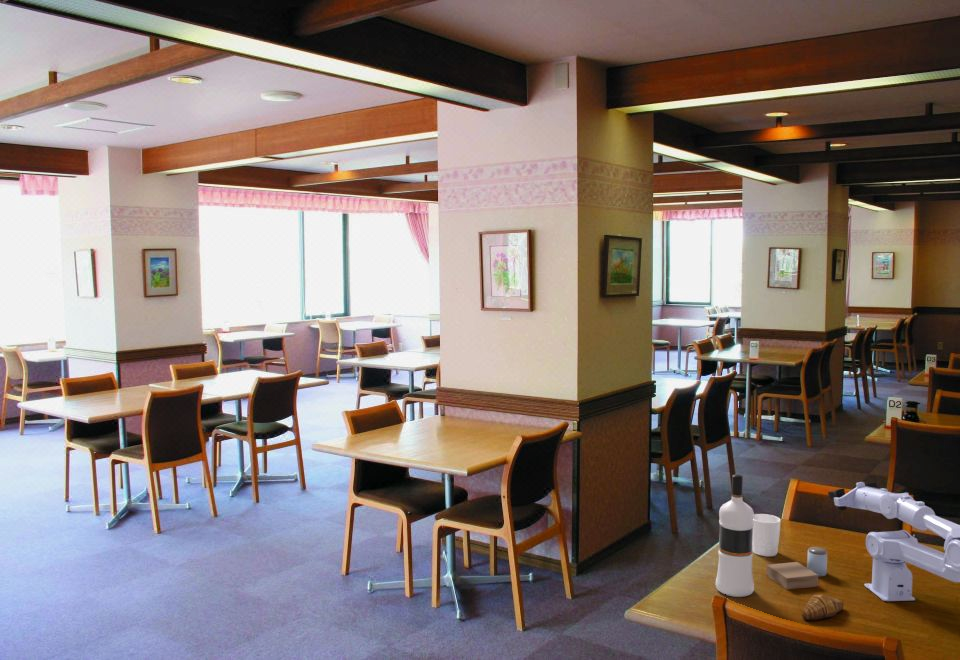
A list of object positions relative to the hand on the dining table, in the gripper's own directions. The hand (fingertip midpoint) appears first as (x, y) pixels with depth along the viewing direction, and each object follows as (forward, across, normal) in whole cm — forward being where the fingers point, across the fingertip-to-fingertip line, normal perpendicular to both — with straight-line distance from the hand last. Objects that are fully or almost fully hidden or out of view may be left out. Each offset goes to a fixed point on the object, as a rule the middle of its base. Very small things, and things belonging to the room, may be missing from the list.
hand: (842, 492), depth 217 cm
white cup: (+13, +19, +16) cm, 28 cm away
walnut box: (-7, +22, +18) cm, 30 cm away
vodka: (-10, +40, +17) cm, 44 cm away
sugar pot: (-3, +13, +19) cm, 23 cm away
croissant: (-25, +26, +21) cm, 42 cm away
